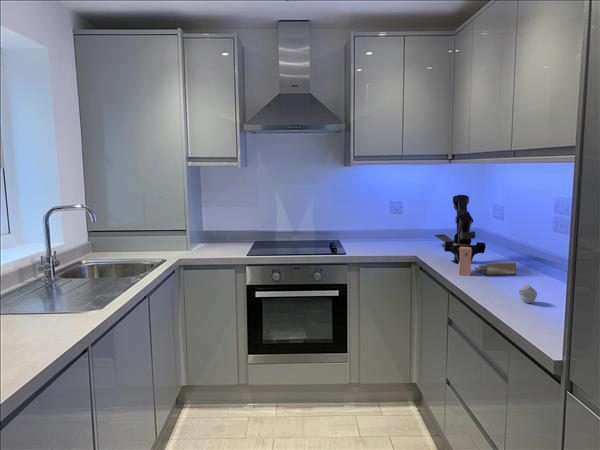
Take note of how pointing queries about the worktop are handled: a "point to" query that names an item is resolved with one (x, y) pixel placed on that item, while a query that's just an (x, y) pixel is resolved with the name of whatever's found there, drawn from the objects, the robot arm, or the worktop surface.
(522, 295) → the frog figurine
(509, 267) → the cleat board
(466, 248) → the cabinet block
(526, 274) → the worktop surface
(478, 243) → the robot arm
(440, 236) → the zipper pull
